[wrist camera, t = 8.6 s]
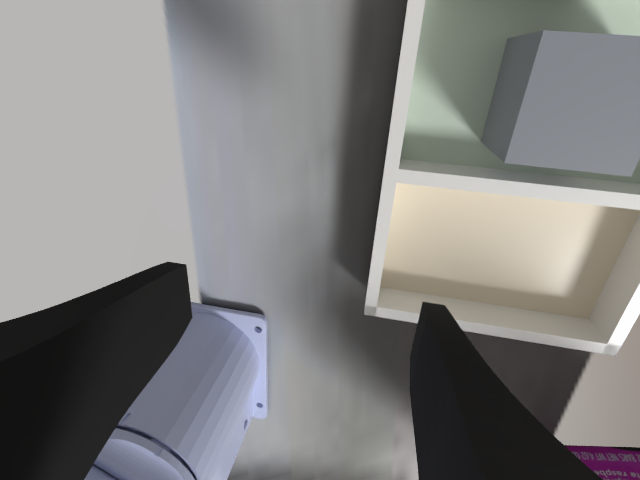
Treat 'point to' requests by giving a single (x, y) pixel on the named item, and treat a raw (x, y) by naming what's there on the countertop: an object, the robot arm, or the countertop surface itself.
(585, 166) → the slate block
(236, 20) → the countertop surface
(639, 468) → the candy bar box
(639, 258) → the two-bin tray
